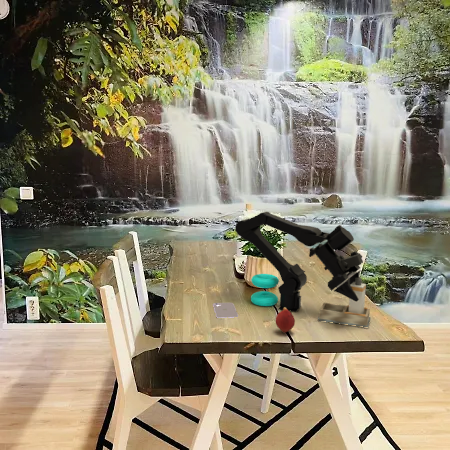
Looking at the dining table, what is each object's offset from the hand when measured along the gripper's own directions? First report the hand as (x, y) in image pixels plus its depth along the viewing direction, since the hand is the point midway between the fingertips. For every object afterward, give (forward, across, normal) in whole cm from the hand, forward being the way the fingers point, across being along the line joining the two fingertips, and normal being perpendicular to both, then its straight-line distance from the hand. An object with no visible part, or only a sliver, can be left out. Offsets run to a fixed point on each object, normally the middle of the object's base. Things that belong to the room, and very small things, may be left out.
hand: (361, 296), depth 148 cm
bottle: (+5, 0, +7) cm, 8 cm away
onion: (-6, -21, +19) cm, 29 cm away
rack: (+3, -1, +10) cm, 10 cm away
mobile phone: (-23, -15, +37) cm, 46 cm away
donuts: (-18, 0, +31) cm, 36 cm away
